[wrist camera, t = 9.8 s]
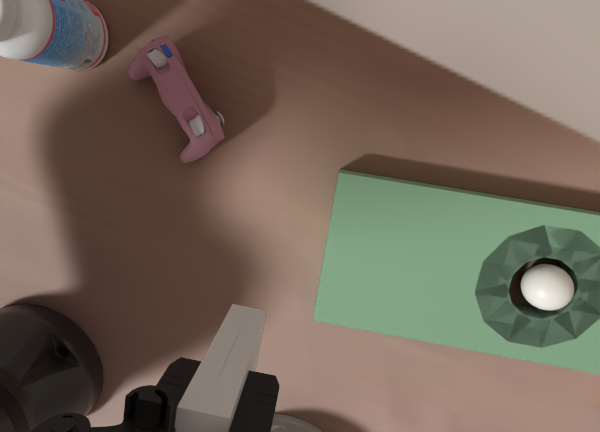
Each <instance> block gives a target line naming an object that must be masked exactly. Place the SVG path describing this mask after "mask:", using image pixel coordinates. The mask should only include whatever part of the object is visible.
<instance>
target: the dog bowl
mask: <svg viewBox="0 0 600 432" xmlns="http://www.w3.org/2000/svg"><path fill="white" fill-rule="evenodd" d="M271 432H323V431H322V430H320V429H319V428H317V427H316V426H314V425H312V424H310V423H308V422H306V421H304V420H301V419H298V418H295V417H292V416H288V415H283V414H274V417H273V422H272V427H271Z"/></svg>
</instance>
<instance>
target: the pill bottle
mask: <svg viewBox="0 0 600 432" xmlns="http://www.w3.org/2000/svg"><path fill="white" fill-rule="evenodd" d="M107 48H108V30H107V26H106V23H105V20H104V18H103V16H102V15H101V13H100V12H99V11H98V9H97V8H96V7H95V6H93V5H92V4H91V3H90V2H88V1H86V0H0V56H3V57H6V58H10V59H14V60H20V61H26V62H31V63H36V64H42V65H47V66H53V67H58V68H64V69H70V70H75V71H84V70H88V69H91V68H93V67H95V66H96V65H98V64H99V63H100V62H101V61H102V59H103V58H104V56H105V54H106V51H107Z"/></svg>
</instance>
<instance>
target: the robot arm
mask: <svg viewBox="0 0 600 432" xmlns="http://www.w3.org/2000/svg"><path fill="white" fill-rule="evenodd" d="M265 317H266V311H265V310H261V309H256V308H251V307H246V306H241V305H236V304H232V306H231V308H230V310H229V311H228V313H227V315H226V317H225V319H224V321H223V323H222V324H221V326H220V328H219V330H218V332H217V334H216V336H215V337H214V339H213V341H212V343H211V345H210V347H209V349H208V350H207V352H206V354H205V356H204V358H203V360H202V362H201V361H196V360H192V359H187V358H182V357H181V358H179V359H178V360H176V361H174V362H173V363H171V364H170V365H169V367H168V368H167V370H166V371H165V373H164V375H163V376H162V377H161V379H160V380H159V382H158V383H157V385H156V386H152V385H148V386H142V387H139V388H136V389H134V390H132V391H131V392H130V393H129V394H127V395H126V398H125V409H124V420H123V422H122V423H121V424H119V425H115V426H108V427H91V425H90V422H89V419H88V418H87V417H85V416H86V415H87V414H88V413H89V412H90V411H91V409H92V408H93V407H94V406H95V404H96V402H97V400H98V398H99V396H100V393H101V388H102V369H101V364H100V361H99V358H98V355H97V353H96V351H95V349H94V347H93V345H92V343H91V342H90V340H89V339H88V338H87V336H86V335H85V334H84V333H83V332H82V331H81V330H80V329H79V328H78V327H77V326H76V325H75V324H74V323H73V322H71V321H70V320H69V319H67V318H66V317H64V316H62V315H61V314H59V313H57V312H55V311H52V310H50V309H47V308H44V307H40V306H35V305H27V304H21V305H12V306H8V307H5V308H2V309H0V432H271V427H272V422H273V417H274V412H275V407H276V402H277V397H278V391H279V383H278V381H277V378H276V376H274V375H269V374H264V373H259V372H255V370H256V367H257V362H258V356H259V350H260V345H261V339H262V334H263V328H264V322H265Z"/></svg>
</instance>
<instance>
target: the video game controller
mask: <svg viewBox="0 0 600 432" xmlns="http://www.w3.org/2000/svg"><path fill="white" fill-rule="evenodd" d="M128 75H129V77H130V78H131V79H133V80H141V79H143V78H147V77H149V76H151V77H152V78H153V80H154V81H155V83H156V85H157V88H158V92H159V95H160V98H161V100H162V102H163V103H164V105H165V106H166V107H167V108H168V110H169V111H170V112H171V113H173V114H174V115H175V116H176V118H177V120H178V121H179V123H180V125H181V126H182V128H183V130H184V131H185V132H186V134H187V135H188V137H189V138H190V142H189V144H188V145H187V146H186V147H185V148H184V149H183V151H182V152H181V155H180V160H181V161H182V162H185V163H187V162H192V161H195V160H197V159H200V158H201V157H203V156H204V155H206V154H207V153H208V152H209V151H210V150H211V149H212V148H213V147H214V146H215V145H216V144H217V143H218V142H220V141H221V140H223V139H224V138H225V137H224V133H223V130H222V128H221V125H220V122H221V124H222V125H224V118H223V116H222V114H221V113H219V112H218V111H216V115H215V114H214V113H213V111H212V110H211V109H210V107H209V106H208V105H207V104H206V103H204V102H203V101H202V99H201V97H200V95H199V93H198V91H197V90H196V88H195V86H194V84H193V83H192V81H191V79H190V78H189V76H188V74H187V70H186V68H185V65H184V63H183V60H182V58H181V56H180V54H179V52H178V50H177V48H176V47H175V45H174V43H173V42H172V41H171V39H170V38H169V37H168V36H166V35H165V36H162V37H160V38H157V39H154V40H152V41H151V42H150V43H149V44H148V45H146V46H145V47H144V48H143V49H142V50H141V52H140V53H139V54H138V56H137V57H136V59H135V60H134V61H133V63H132V64H131V66H130V68H129V72H128Z"/></svg>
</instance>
